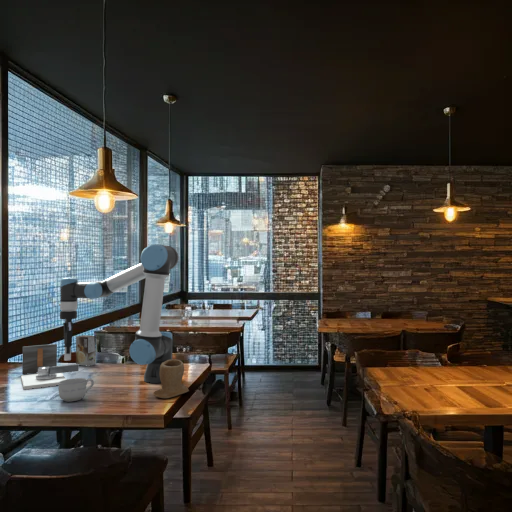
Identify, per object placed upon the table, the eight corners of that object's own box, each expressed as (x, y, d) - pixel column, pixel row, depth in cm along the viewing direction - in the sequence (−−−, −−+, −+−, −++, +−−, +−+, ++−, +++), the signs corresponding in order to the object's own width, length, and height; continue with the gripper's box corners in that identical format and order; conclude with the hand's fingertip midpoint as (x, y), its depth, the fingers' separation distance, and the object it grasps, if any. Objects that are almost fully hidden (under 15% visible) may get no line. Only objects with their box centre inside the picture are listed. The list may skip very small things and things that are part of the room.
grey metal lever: (36, 380, 211) (36, 370, 211) (35, 376, 219) (35, 366, 219) (79, 375, 220) (79, 365, 220) (76, 372, 228) (76, 362, 228)
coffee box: (96, 364, 256) (96, 335, 256) (88, 366, 250) (88, 337, 250) (83, 363, 259) (83, 334, 260) (75, 365, 253) (75, 336, 254)
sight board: (56, 371, 238) (57, 344, 239) (22, 374, 230) (22, 347, 231) (56, 370, 240) (56, 343, 240) (22, 374, 232) (22, 346, 232)
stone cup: (167, 402, 181) (168, 364, 182) (149, 397, 189) (149, 361, 189) (196, 394, 193) (196, 358, 193) (177, 389, 200) (177, 355, 201)
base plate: (67, 384, 210) (67, 380, 211) (23, 389, 202) (23, 385, 202) (60, 373, 232) (60, 370, 232) (21, 378, 223) (21, 374, 223)
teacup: (59, 405, 178) (59, 384, 178) (57, 398, 188) (57, 378, 188) (96, 400, 185) (96, 380, 185) (92, 394, 194) (92, 375, 194)
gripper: (58, 309, 220) (57, 358, 220) (61, 311, 209) (60, 363, 208) (74, 309, 224) (73, 357, 223) (79, 311, 213) (78, 362, 212)
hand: (67, 360), depth 216 cm, fingers closed
